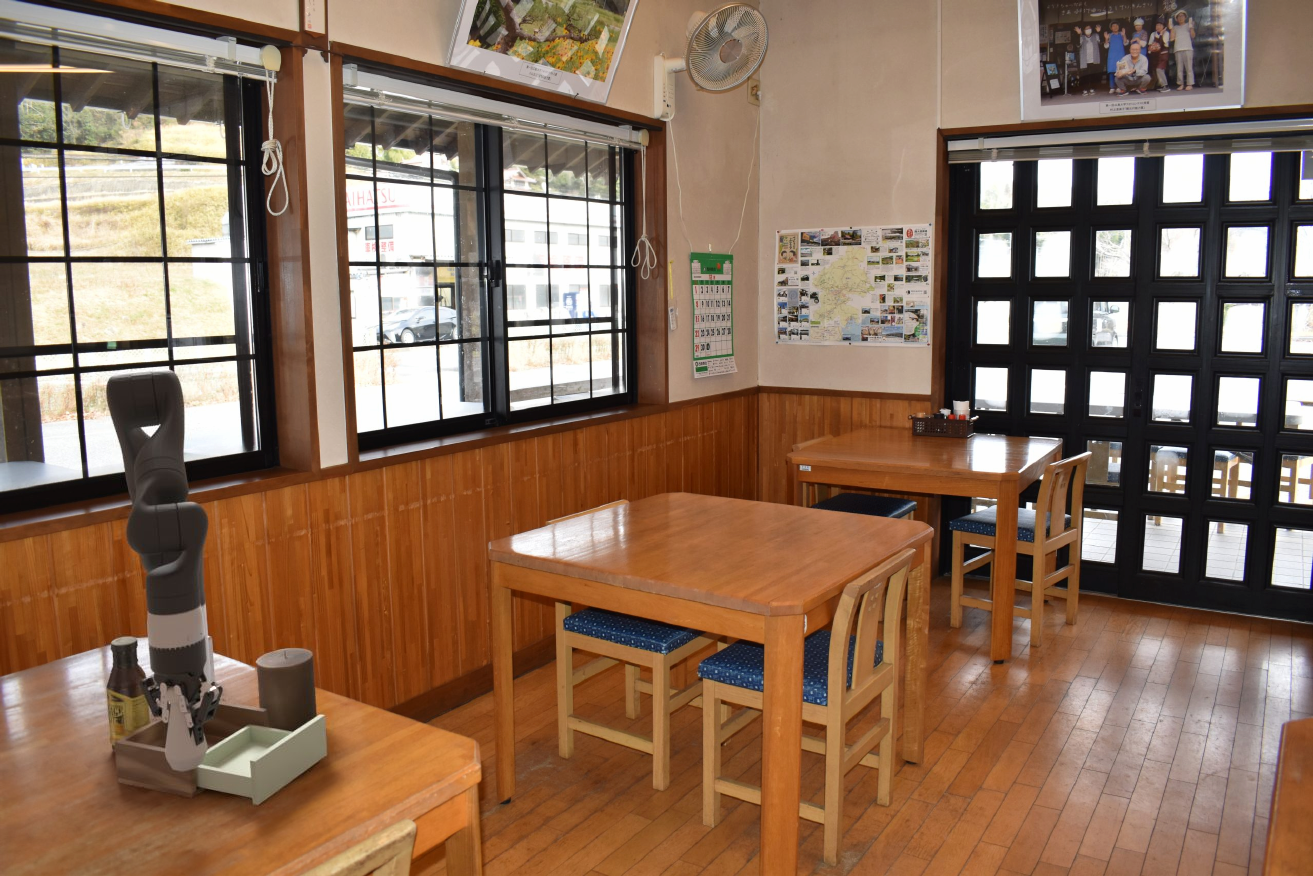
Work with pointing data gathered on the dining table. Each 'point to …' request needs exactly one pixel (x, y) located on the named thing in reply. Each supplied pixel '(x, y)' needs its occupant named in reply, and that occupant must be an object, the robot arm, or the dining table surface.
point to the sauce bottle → (125, 691)
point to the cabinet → (146, 746)
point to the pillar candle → (287, 688)
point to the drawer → (262, 759)
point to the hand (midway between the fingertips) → (185, 744)
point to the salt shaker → (181, 738)
